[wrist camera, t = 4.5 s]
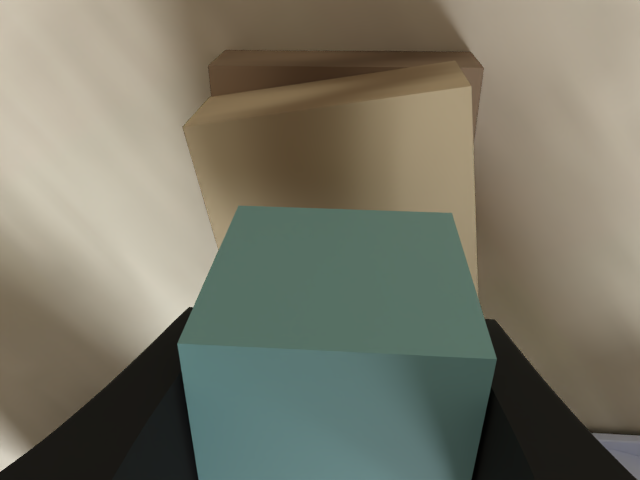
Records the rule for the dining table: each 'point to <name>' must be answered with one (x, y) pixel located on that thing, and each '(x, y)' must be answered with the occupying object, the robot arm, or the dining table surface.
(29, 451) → the robot arm
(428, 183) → the slab top
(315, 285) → the teal cube
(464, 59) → the slab bottom
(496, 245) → the dining table surface
